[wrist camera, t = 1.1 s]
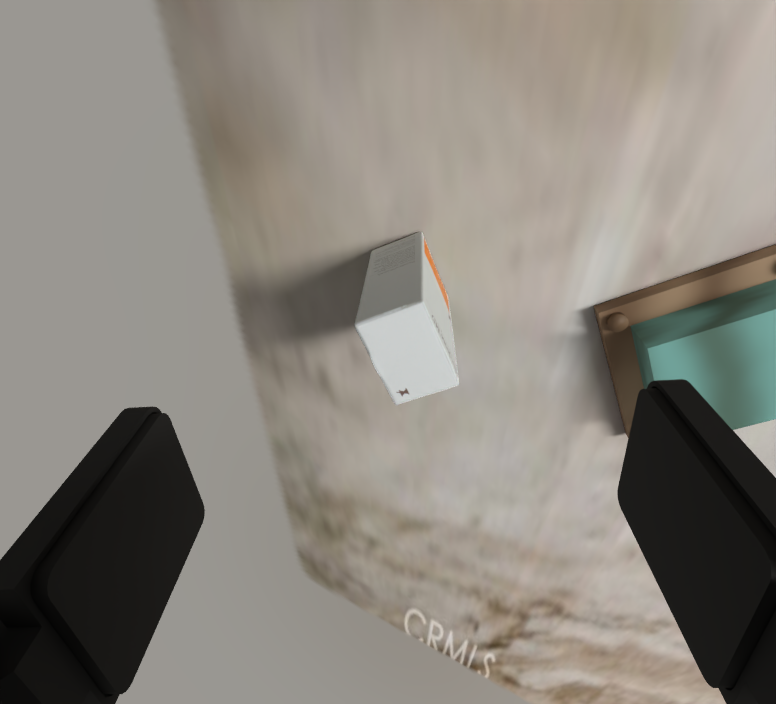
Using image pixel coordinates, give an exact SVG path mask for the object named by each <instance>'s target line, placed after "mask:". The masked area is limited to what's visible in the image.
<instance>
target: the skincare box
mask: <svg viewBox="0 0 776 704" xmlns="http://www.w3.org/2000/svg"><path fill="white" fill-rule="evenodd" d="M354 326H355V329H356V331H357V333H358V335H359V337H360V338H361V340H362V342H363V344H364V346H365V348H366V350H367V352H368V354H369V356H370V358H371V361H372V364H373V366H374V368H375V370H376V372H377V373H378V375H379V376H380V378H381V379H382V381H383V383H384V385H385V387H386V389H387V391H388V393H389V394H390V396H391V398H392V400H393V402H394V404H395V405H399V404H402V403H405V402H408V401H411V400H414V399H417V398H421V397H424V396H427V395H430V394H434V393H437V392H440V391H443V390H446V389H449V388H452V387H455V386H458V385H459V377H458V369H457V361H456V353H455V344H454V336H453V328H452V321H451V312H450V304H449V297H448V295H447V293H446V290H445V288H444V286H443V283H442V281H441V279H440V276H439V274H438V272H437V269H436V267H435V264H434V262H433V259H432V256H431V254H430V251H429V248H428V246H427V243H426V240H425V238H424V235H423V233H422V232H417V233H415V234H413V235H410V236H408V237H405V238H403V239H401V240H398V241H395V242H393V243H390V244H387V245H385V246H382V247H380V248H377V249H375V250H372V252H371V255H370V260H369V264H368V269H367V273H366V277H365V282H364V286H363V290H362V295H361V299H360V303H359V308H358V312H357V316H356V320H355V325H354Z"/></svg>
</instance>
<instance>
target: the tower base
mask: <svg viewBox="0 0 776 704" xmlns="http://www.w3.org/2000/svg"><path fill="white" fill-rule="evenodd" d="M594 310H595V314H596V318H597V322H598V326H599V330H600V334H601V338H602V342H603V346H604V350H605V354H606V357H607V361H608V365H609V369H610V373H611V377H612V381H613V385H614V389H615V393H616V397H617V401H618V405H619V408H620V412H621V416H622V420H623V424H624V428H625V432H626V435H627V436H628V438H629V434H630V430H631V425H632V420H633V415H634V411H635V406H636V401H637V397H638V393H639V391H640V390H641V389H647V387H648V385H649V383H650V382H652V381H656V380H675V379H684V380H687V381H688V382H690V383H691V385H692V386H693V387H694V388H695V389H696V390H697V391H698V392H699V393H700V395H701V396H702V397H703V398H704V399H705V400H706V401H707V402H708V403H709V404H710V406H711V407H712V408H713V409H714V410H715V411H716V412H717V413H718V414H719V416H720V417H721V418H722V419H723V420H724V421H725V422H726V423H727V424H728V426H729V427H730V428H731V429H732V430H734V429H738V428H742V427H746V426H750V425H754V424H758V423H762V422H766V421H770V420H774V419H776V245H773V246H770V247H767V248H764V249H761V250H758V251H755V252H752V253H749V254H746V255H743V256H740V257H737V258H734V259H732V260H729V261H726V262H723V263H720V264H717V265H714V266H711V267H708V268H705V269H702V270H699V271H696V272H693V273H690V274H687V275H684V276H681V277H678V278H675V279H672V280H669V281H666V282H663V283H660V284H658V285H655V286H652V287H649V288H646V289H643V290H640V291H637V292H634V293H631V294H628V295H625V296H622V297H619V298H616V299H613V300H610V301H607V302H604V303H601V304H598V305H595V306H594Z"/></svg>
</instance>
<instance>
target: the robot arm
mask: <svg viewBox="0 0 776 704" xmlns="http://www.w3.org/2000/svg"><path fill="white" fill-rule="evenodd" d="M618 501H619V504H620V507H621V510H622V512H623V514H624V516H625V518H626V520H627V522H628V524H629V526H630V528H631V530H632V532H633V534H634V536H635V538H636V540H637V542H638V544H639V546H640V548H641V550H642V553H643V555H644V557H645V559H646V561H647V563H648V565H649V567H650V569H651V571H652V573H653V575H654V577H655V579H656V581H657V583H658V585H659V587H660V589H661V591H662V593H663V595H664V598H665V600H666V602H667V604H668V606H669V608H670V610H671V612H672V614H673V616H674V618H675V620H676V622H677V624H678V626H679V628H680V630H681V632H682V634H683V636H684V638H685V640H686V643H687V645H688V647H689V649H690V651H691V653H692V655H693V657H694V659H695V661H696V663H697V665H698V667H699V669H700V671H701V673H702V675H703V677H704V679H705V680H706V682H707V683H708V684H709V685H710V686H711V687H713V688H719V690H720V692H721V694H722V696H723V698H724V700H725V702H726V704H776V478H775V477H774V476H773V474H772V473H771V472H770V471H769V470H768V469H767V468H766V467H765V466H764V464H763V463H762V462H761V461H760V460H759V459H758V458H757V457H756V456H755V454H754V453H753V452H752V451H751V450H750V449H749V448H748V447H747V446H746V444H745V443H744V442H743V441H742V440H741V439H740V438H739V437H738V436H737V434H736V433H735V432H734V431H733V430H732V429H731V428H730V427H729V426H728V424H727V423H726V422H725V421H724V420H723V419H722V418H721V417H720V416H719V414H718V413H717V412H716V411H715V410H714V409H713V408H712V407H711V406H710V404H709V403H708V402H707V401H706V400H705V399H704V398H703V397H702V396H701V395H700V393H699V392H698V391H697V390H696V389H695V388H694V387H693V386H692V385H691V383H690V382H688V381H687V380H684V379H675V380H656V381H652V382H650V383H649V385H648V387H647V389H641V390H640V391H639V393H638V397H637V401H636V406H635V411H634V415H633V420H632V425H631V430H630V434H629V439H628V444H627V448H626V453H625V458H624V462H623V467H622V472H621V476H620V481H619V486H618ZM203 519H204V505H203V502H202V499H201V497H200V494H199V491H198V489H197V486H196V484H195V481H194V479H193V476H192V474H191V471H190V468H189V466H188V463H187V461H186V458H185V456H184V453H183V451H182V448H181V445H180V443H179V440H178V438H177V435H176V433H175V430H174V428H173V425H172V422H171V420H170V418H169V416H168V415H167V414H165V413H161V411H160V410H159V409H158V408H157V407H139V408H127V409H124V410H123V411H122V412H121V413H120V414H119V416H118V417H117V418H116V419H115V420H114V422H113V423H112V424H111V425H110V427H109V428H108V429H107V430H106V432H105V433H104V434H103V435H102V436H101V438H100V439H99V440H98V441H97V443H96V444H95V445H94V446H93V447H92V449H91V450H90V451H89V452H88V454H87V455H86V456H85V457H84V459H83V460H82V461H81V462H80V463H79V465H78V466H77V467H76V468H75V469H74V471H73V472H72V473H71V474H70V476H69V477H68V478H67V479H66V480H65V482H64V483H63V484H62V485H61V487H60V488H59V489H58V490H57V492H56V493H55V494H54V495H53V496H52V498H51V499H50V500H49V501H48V502H47V504H46V505H45V506H44V507H43V509H42V510H41V511H40V512H39V514H38V515H37V516H36V517H35V518H34V520H33V521H32V522H31V523H30V524H29V526H28V527H27V528H26V529H25V531H24V532H23V533H22V534H21V536H20V537H19V538H18V539H17V540H16V542H15V543H14V544H13V545H12V546H11V548H10V549H9V550H8V551H7V553H6V554H5V555H4V556H3V557H2V559H1V560H0V704H115V703H116V701H117V699H118V696H119V694H123V693H124V692H126V691H127V690H128V688H129V687H130V685H131V683H132V681H133V679H134V677H135V674H136V672H137V670H138V668H139V666H140V663H141V661H142V658H143V657H144V654H145V652H146V650H147V647H148V645H149V643H150V641H151V638H152V636H153V634H154V632H155V629H156V627H157V625H158V623H159V620H160V618H161V616H162V613H163V611H164V609H165V606H166V604H167V602H168V600H169V598H170V595H171V593H172V591H173V589H174V586H175V584H176V582H177V580H178V577H179V575H180V573H181V570H182V568H183V566H184V564H185V561H186V559H187V557H188V555H189V552H190V549H191V548H192V546H193V543H194V541H195V539H196V537H197V534H198V532H199V530H200V528H201V525H202V523H203Z"/></svg>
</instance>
